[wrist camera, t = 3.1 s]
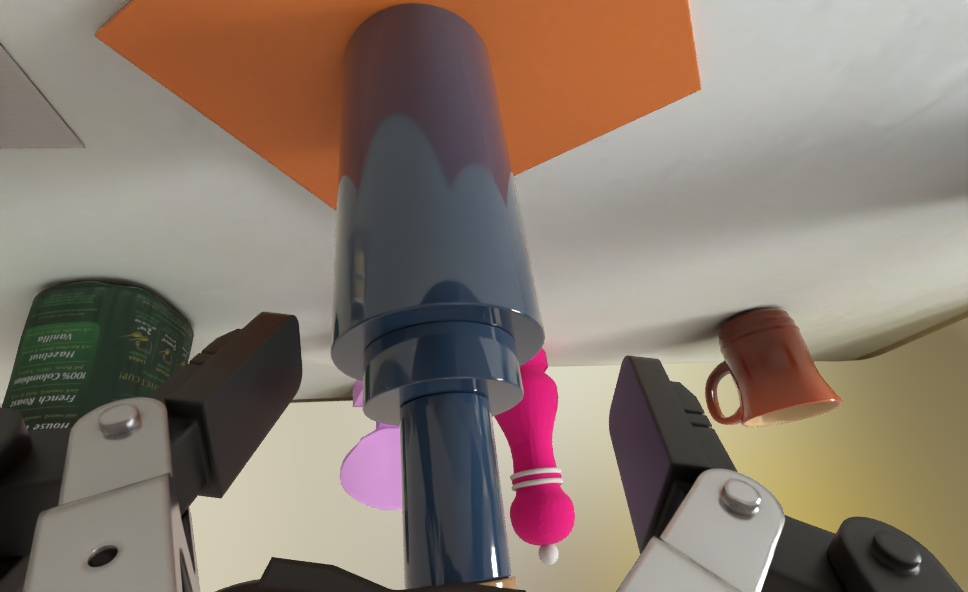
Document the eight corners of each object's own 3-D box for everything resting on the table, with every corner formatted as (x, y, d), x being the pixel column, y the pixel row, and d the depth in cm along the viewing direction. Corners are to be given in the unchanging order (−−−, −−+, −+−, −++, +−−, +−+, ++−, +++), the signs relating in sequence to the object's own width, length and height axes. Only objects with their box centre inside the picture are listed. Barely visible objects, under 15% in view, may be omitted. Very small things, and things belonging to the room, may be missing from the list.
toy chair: (464, 288, 38) (487, 489, 30) (430, 335, 45) (442, 508, 37) (358, 276, 34) (356, 498, 27) (339, 328, 41) (333, 517, 34)
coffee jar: (9, 280, 30) (-142, 635, 21) (141, 270, 31) (49, 610, 22) (109, 342, 39) (31, 614, 30) (211, 333, 39) (165, 596, 30)
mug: (770, 293, 45) (819, 397, 40) (810, 309, 50) (858, 404, 45) (666, 341, 54) (696, 433, 49) (708, 351, 58) (740, 436, 53)
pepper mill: (507, 372, 56) (535, 565, 47) (470, 358, 51) (494, 572, 41) (561, 354, 53) (603, 557, 43) (527, 336, 48) (568, 564, 38)
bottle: (440, -33, 17) (537, 676, 7) (515, 95, 22) (631, 611, 12) (308, 57, 19) (247, 685, 10) (404, 154, 24) (427, 627, 15)
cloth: (618, -447, 10) (622, -446, 10) (699, 85, 23) (701, 89, 23) (96, 31, 18) (94, 36, 18) (375, 235, 30) (376, 239, 30)
